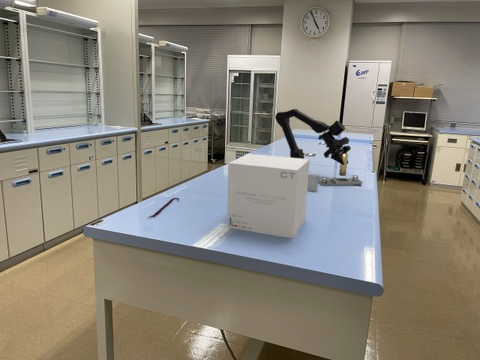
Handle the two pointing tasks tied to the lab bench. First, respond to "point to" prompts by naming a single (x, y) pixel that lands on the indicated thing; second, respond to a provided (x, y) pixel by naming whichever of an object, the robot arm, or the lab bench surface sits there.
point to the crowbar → (163, 207)
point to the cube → (267, 194)
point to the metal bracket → (340, 181)
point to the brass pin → (343, 167)
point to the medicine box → (312, 182)
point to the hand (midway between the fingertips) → (345, 164)
